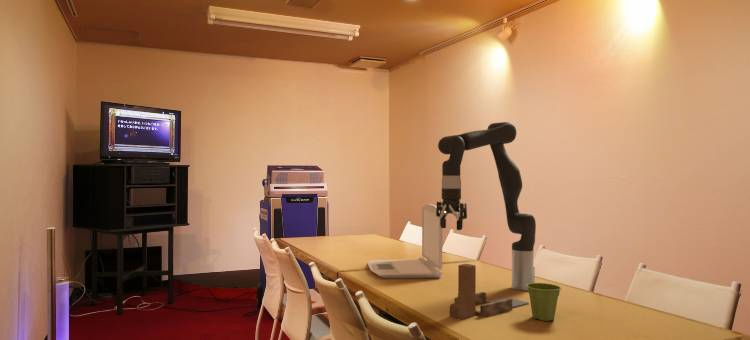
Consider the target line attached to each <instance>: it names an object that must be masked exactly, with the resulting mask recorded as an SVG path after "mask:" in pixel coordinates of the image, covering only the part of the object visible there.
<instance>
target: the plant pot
mask: <svg viewBox="0 0 750 340" xmlns="http://www.w3.org/2000/svg"><path fill="white" fill-rule="evenodd" d="M526 287H527V288H528V295H529V301H530V302H529V303H530V307H531V315H532V318H534V319H535V320H536V319H537V320H539V321H542V322H543V321H544V322H545V321H547V322H549V321H553V320H555V317H556V309H557V304H558V300H559V299H558V298H559V296H560V292H561V290H562V287H561V286H559V285H557V284H551V283H545V282H535V283H529V284H526Z"/></svg>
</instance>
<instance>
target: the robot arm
mask: <svg viewBox="0 0 750 340" xmlns="http://www.w3.org/2000/svg"><path fill="white" fill-rule="evenodd" d="M516 137H517V127H516V126H515V125H514V124H513V123H512V122H509V121H508V122H507V121H501V122H494V123H490V124H488V126H487V129H480V130H473V131H472V130H471V131H468V132H464V133H461V134H455V135H448V136H443V137H442V138H441V139H439V141H438V145H437V149H438V150H439V151H440V152H441V153H442V154H444V155H449V156H448V157H449V158H448V159H447V160H445V161H443V162H442V164H441V165H442V166H441V169H442V170H441V172H442V173H441V176H442V177H441V200H442V201H437V202H436V206H437V207H436V216H437V217H439V218H440V226H441V228H442V229H446V228H447V216H448V215H449V214H453V216H454V217H455V219H456V230H457V231H462V230H463V227H464V226H463V224H464V223H463V222H464V221H463V220H465V219H467V218H468V210H467V208H468V207H467V206H468V205H467V203H466V202H461V201H460V200H461V199H462V179H461V165H462V162H463V159H464V158H463V157H464V154H465V152H466V151H471V150H474V149H478V148H482V147H485V146H488V145H489V147H490V149H491V152H492V155H493V159H494V163H495V166H496V170H497V174H498V180H499V183H500V184H499V185H500V187H501V190H502V191H501V192H502V195H503V201H504V207H505V214H506V223H507V226H508V229H509V232H511V233H512V234H517V235H520V239H519V240H517V241H514V242H512V244H511V289H512V290H516V291H522V292H526V291H528V288H527V287H526V284H529V283H536V282H535V266H534V247H535V243H536V230H537V229H536V227H537V224H536V218H535V217H534V215H533V214H530V213H520V210H519V205H518V202H519V201H518V200H519V198H520V194H521V192H522V189H523V179H522V176H521V171H520V168H519V167H518V166H517V165H516V163H515V162H514V161H513V160H512V158H511V157H510V156H509V154H508V152H507V150H506V148H505V144H510V143H513V142H514V141H515V139H516ZM439 211H440V213H439Z"/></svg>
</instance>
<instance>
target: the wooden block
mask: <svg viewBox="0 0 750 340" xmlns="http://www.w3.org/2000/svg"><path fill="white" fill-rule="evenodd" d="M476 268H477V267H476V265H475V264H469V263H463V264H459V265H458V272H457V273H458V277H457V279H458V280H457V281H458V282H457V283H458V284H457V285H458V286H457V287H458V290H457V291H458V293H457V300H456V301H455V300H454V302H453V303H451V304H449V318H451V317H453V318H452V319H454V318H456V319H455V320H457V319H460V320H463V318H464V319H468V318H472V317H476V315H475V310H476V305H475V302H476V292H477V291H476V288H477V285H476V282H477V281H476V277H477V276H476V275H477V274H476ZM467 317H468V318H467Z"/></svg>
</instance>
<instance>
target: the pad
mask: <svg viewBox="0 0 750 340" xmlns="http://www.w3.org/2000/svg"><path fill="white" fill-rule="evenodd" d="M509 298H510V299H512V309H515V308H518V307H523V306H526V305H527V306H528V305H529V303H530V302H528V301H523V300H519V299H515V298H512V297H508V296H503V297H499V298H496V299H491V300H489V301H492V302H495V301H500V300H504V299H509Z"/></svg>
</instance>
